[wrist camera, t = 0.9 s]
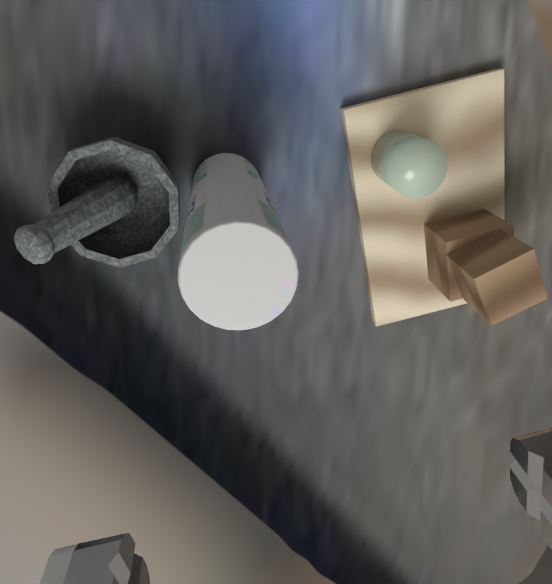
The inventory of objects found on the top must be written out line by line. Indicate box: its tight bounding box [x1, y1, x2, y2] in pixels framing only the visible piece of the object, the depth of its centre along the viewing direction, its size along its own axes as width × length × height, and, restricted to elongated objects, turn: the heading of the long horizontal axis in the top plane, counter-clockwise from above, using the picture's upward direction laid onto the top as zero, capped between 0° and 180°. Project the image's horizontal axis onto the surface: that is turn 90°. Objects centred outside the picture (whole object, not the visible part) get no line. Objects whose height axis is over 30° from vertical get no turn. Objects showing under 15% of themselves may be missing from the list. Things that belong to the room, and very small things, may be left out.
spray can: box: [178, 153, 299, 330], centre depth 35 cm, size 6×6×20 cm
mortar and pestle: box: [14, 137, 180, 268], centre depth 37 cm, size 11×9×12 cm
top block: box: [446, 228, 548, 326], centre depth 41 cm, size 5×5×5 cm
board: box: [340, 69, 505, 326], centre depth 46 cm, size 22×14×1 cm, turn 13°
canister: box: [371, 130, 448, 199], centre depth 40 cm, size 5×5×6 cm
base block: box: [424, 209, 513, 302], centre depth 45 cm, size 6×6×5 cm
